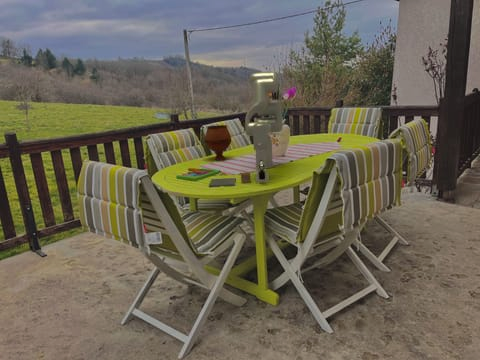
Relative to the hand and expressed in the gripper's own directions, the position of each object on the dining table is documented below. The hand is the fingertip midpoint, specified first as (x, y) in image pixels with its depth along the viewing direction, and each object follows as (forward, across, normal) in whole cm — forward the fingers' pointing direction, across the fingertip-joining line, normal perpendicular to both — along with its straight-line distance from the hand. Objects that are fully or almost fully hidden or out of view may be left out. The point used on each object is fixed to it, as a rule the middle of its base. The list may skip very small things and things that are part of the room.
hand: (262, 177), depth 205 cm
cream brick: (+3, 0, 0) cm, 3 cm away
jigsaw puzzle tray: (+3, -24, -42) cm, 49 cm away
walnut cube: (+2, 0, -9) cm, 9 cm away
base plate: (+2, 0, -22) cm, 22 cm away
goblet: (+2, -70, -30) cm, 77 cm away
